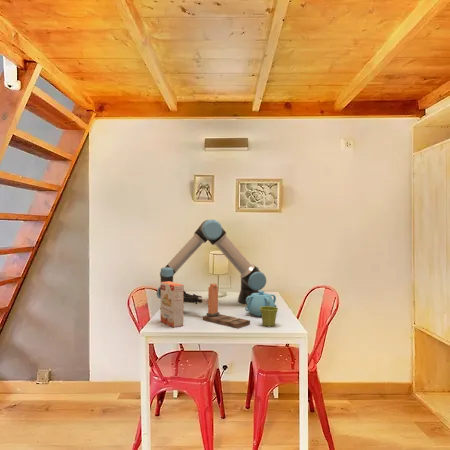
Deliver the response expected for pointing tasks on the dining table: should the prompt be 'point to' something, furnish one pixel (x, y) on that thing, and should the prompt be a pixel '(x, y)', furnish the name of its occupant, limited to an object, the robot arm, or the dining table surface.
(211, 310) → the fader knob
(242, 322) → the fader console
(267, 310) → the plant pot
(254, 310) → the decorative pot
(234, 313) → the dining table surface
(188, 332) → the dining table surface
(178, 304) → the cracker box
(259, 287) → the robot arm
